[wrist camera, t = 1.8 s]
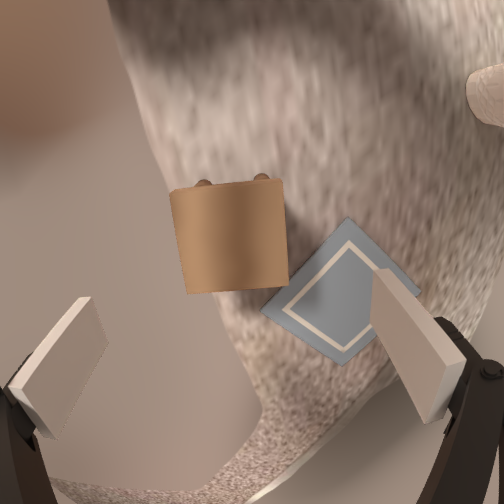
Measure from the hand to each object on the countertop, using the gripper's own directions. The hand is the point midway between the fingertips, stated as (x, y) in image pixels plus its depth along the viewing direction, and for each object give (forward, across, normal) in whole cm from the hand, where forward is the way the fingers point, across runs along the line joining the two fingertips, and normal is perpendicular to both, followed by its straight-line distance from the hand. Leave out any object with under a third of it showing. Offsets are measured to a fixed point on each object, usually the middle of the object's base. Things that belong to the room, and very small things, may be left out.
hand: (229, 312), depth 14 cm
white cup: (+19, +30, +12) cm, 38 cm away
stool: (+19, 0, 0) cm, 19 cm away
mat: (+19, +11, -12) cm, 25 cm away
